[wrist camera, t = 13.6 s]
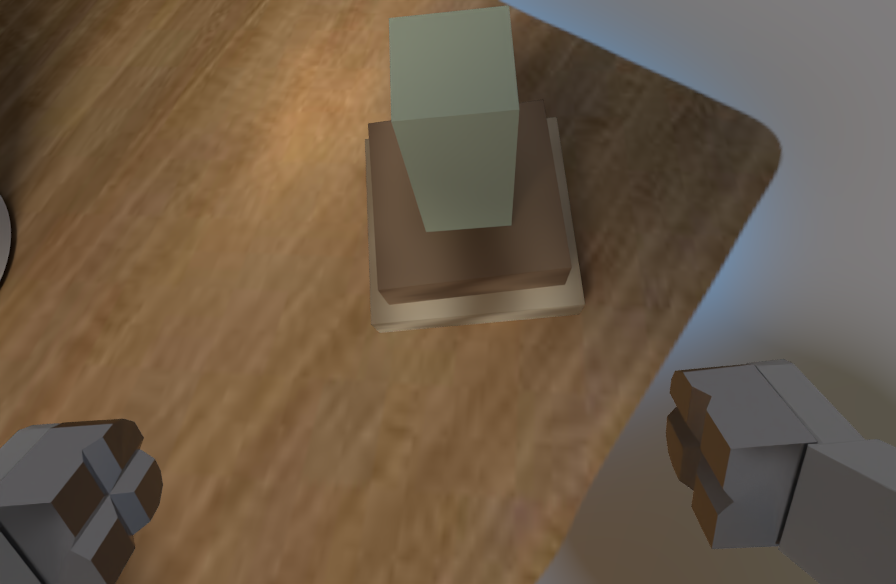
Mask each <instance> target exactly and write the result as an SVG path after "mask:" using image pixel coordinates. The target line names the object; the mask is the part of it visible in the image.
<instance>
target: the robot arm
mask: <svg viewBox="0 0 896 584" xmlns="http://www.w3.org/2000/svg"><path fill="white" fill-rule="evenodd" d="M10 243H11V225H10V218H9V214H8V210H7V207H6V205H5V203H4V201H3V198H2V197H1V195H0V280H1V277H2V275H3V272H4V270H5V267H6V263H7V260H8V256H9V251H10ZM670 394H671V396H672V398H673V400H674V402H675V404H676V406H677V407H676V408H675V409H674V410H673V411H672V412H671V413H670V414H669V415H668V416H667V426H666V438H667V446H668V453H669V456H670V459H671V463H672V466H673V468H674V470H675V473H676V475H677V477H678V479H679V481H680V482H682V483H683V484H685V485H686V486H687V487H689V488H690V489H692V490H693V491H694V492H693V500H692V509H693V511H694V513H695V515H696V517H697V519H698V521H699V523H700V526H701V528H702V530H703V532H704V534H705V536H706V538H707V540H708V542H709V544H710V546H711V548H712V549H722V548H746V547H771V546H779V548H778V550H779V551H781V552H782V553H783V554H784V555H786V556H787V557H788V558H789V559H790V560H792V561H793V562H794V563H795V564H797V565H798V566H799V567H800V568H801V569H803V570H804V571H805V572H806V573H807V574H809V575H810V576H811V577H812V578H814V579H815V580H816V581H817V582H818V583H820V584H896V447H894V446H892V445H890V444H888V443H885V442H883V441H881V440H879V439H874V440H865V439H864V438H863V437H862V436H861V435H860V434H859V433H858V431H857V430H855V428H854V427H853V426H852V425H851V424H850V423H849V422H848V421H847V420H846V419H845V418H844V417H843V416H842V415H841V413H840V412H839V411H838V410H836V408H835V407H834V406H833V405H832V404H831V403H830V402H829V401H828V400H827V399H826V398H825V397H824V395H823V394H822V393H821V392H820V391H819V390H818V389H817V388H816V387H815V386H814V385H813V384H812V383H811V382H810V381H809V380H808V379H807V377H806V376H805V375H804V374H803V373H802V372H801V371H800V370H799V369H798V368H797V367H796V366H795V365H794V364H793V363H792V362H789V361H787V360H785V359H780V360H771V361H762V362H753V363H747V364H745V365H732V366H721V367H711V368H700V369H689V370H678V371H675V372H674V375H673V377H672V379H671V387H670ZM143 439H144V437H143V436H142V434H141V432H140V430H139V429H138V427H137V425H136V424H135V422H133V421H130V420H126V419H112V420H96V421H80V422H65V423H61V424H42V425H32V426H29V427H26V428H24V429H21V430H18V431H17V432H16V433H15V434H14V435H13V436H12V437H11V438H10V439H9V440H8V441H7V442H6V443H5V444H4V445H3V446H2V447H1V448H0V584H115V582H116V581H117V579H118V577H119V575H120V574H121V572H122V570H123V568H124V567H125V565H126V563H127V561H128V560H129V558H130V556H131V554H132V553H133V551H134V549H135V543H134V538H133V535H134V534H135V533H136V532H137V531H139V530H140V529H141V528H142V527H144V526H145V525H146V524H147V523H149V522H150V521H151V519H152V517H153V515H154V513H155V512H156V510H157V508H158V506H159V504H160V498H161V493H162V487H163V482H162V476H161V470H160V468H159V466H158V464H157V462H156V460H155V459H154V458H153V457H151V456H150V455H148V454H147V453H145V452H143V451H142V450H140V447H141V444H142V441H143Z"/></svg>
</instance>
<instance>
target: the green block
mask: <svg viewBox="0 0 896 584" xmlns="http://www.w3.org/2000/svg"><path fill="white" fill-rule="evenodd" d="M389 39H390V86H391V122H392V125H393V129H394V132H395V135H396V138H397V141H398V144H399V148H400V151H401V154H402V157H403V160H404V163H405V167H406V170H407V173H408V176H409V179H410V182H411V186H412V189H413V192H414V195H415V198H416V201H417V205H418V208H419V211H420V214H421V217H422V220H423V224H424V227H425V230H426V232H434V231H447V230H460V229H472V228H485V227H498V226H510V225H511V224H512V209H513V195H514V180H515V166H516V151H517V137H518V122H519V101H518V91H517V81H516V72H515V62H514V52H513V42H512V32H511V22H510V12H509V6H500V7H490V8H481V9H472V10H462V11H453V12H443V13H434V14H425V15H415V16H406V17H396V18H389Z"/></svg>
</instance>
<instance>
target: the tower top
mask: <svg viewBox="0 0 896 584" xmlns="http://www.w3.org/2000/svg"><path fill="white" fill-rule="evenodd" d="M368 130H369V148H370V165H371V182H372V199H373V216H374V234H375V251H376V268H377V285H378V291H379V292H380V294H381V295H382V296H383V298H384V299H385V300H386V302H387V303H388V304H389V305H393V304H402V303H411V302H419V301H428V300H437V299H445V298H454V297H463V296H471V295H480V294H489V293H497V292H506V291H515V290H523V289H532V288H541V287H549V286H558V285H565V284H566V281H567V278H568V276H569V273H570V271H571V268H572V265H571V259H570V253H569V247H568V241H567V235H566V230H565V224H564V218H563V212H562V206H561V200H560V194H559V188H558V182H557V176H556V171H555V165H554V159H553V153H552V147H551V141H550V135H549V129H548V123H547V118H546V112H545V106H544V100H537V101H529V102H522V103H519V122H518V137H517V151H516V166H515V180H514V195H513V209H512V224H511V225H510V226H498V227H485V228H472V229H460V230H447V231H434V232H426V230H425V227H424V224H423V220H422V217H421V214H420V211H419V208H418V205H417V201H416V198H415V195H414V192H413V189H412V186H411V182H410V179H409V176H408V173H407V170H406V167H405V163H404V160H403V157H402V154H401V151H400V148H399V144H398V141H397V138H396V135H395V132H394V129H393V125H392V122H391V120H390V121H383V122H376V123H368Z"/></svg>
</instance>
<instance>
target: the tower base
mask: <svg viewBox="0 0 896 584" xmlns="http://www.w3.org/2000/svg"><path fill="white" fill-rule="evenodd" d="M547 123H548V129H549V135H550V141H551V147H552V153H553V159H554V165H555V171H556V176H557V182H558V188H559V194H560V200H561V206H562V212H563V218H564V224H565V230H566V235H567V241H568V247H569V253H570V259H571V265H572V268H571V271H570V273H569V276H568V278H567V281H566V284H565V285H558V286H549V287H541V288H532V289H523V290H515V291H506V292H497V293H489V294H480V295H471V296H463V297H454V298H445V299H437V300H428V301H419V302H411V303H402V304H393V305H389V304H388V303H387V302H386V300H385V299H384V298H383V296H382V295H381V294H380V292H379V291H378V285H377V268H376V251H375V234H374V216H373V199H372V182H371V165H370V148H369V139H365V153H366V184H367V214H368V244H369V274H370V304H371V325H372V326H373V327H374V328H375V329H376V330H377V331H378V332H379V333H382V332H393V331H404V330H415V329H426V328H436V327H447V326H458V325H469V324H480V323H491V322H502V321H513V320H524V319H535V318H546V317H557V316H567V315H578V314H580V312H581V310H582V309H583V307H584V305H585V301H584V295H583V288H582V282H581V275H580V268H579V262H578V255H577V249H576V242H575V235H574V229H573V222H572V216H571V209H570V202H569V196H568V189H567V183H566V176H565V169H564V163H563V156H562V150H561V143H560V136H559V130H558V123H557V117H552V118H547Z"/></svg>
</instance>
